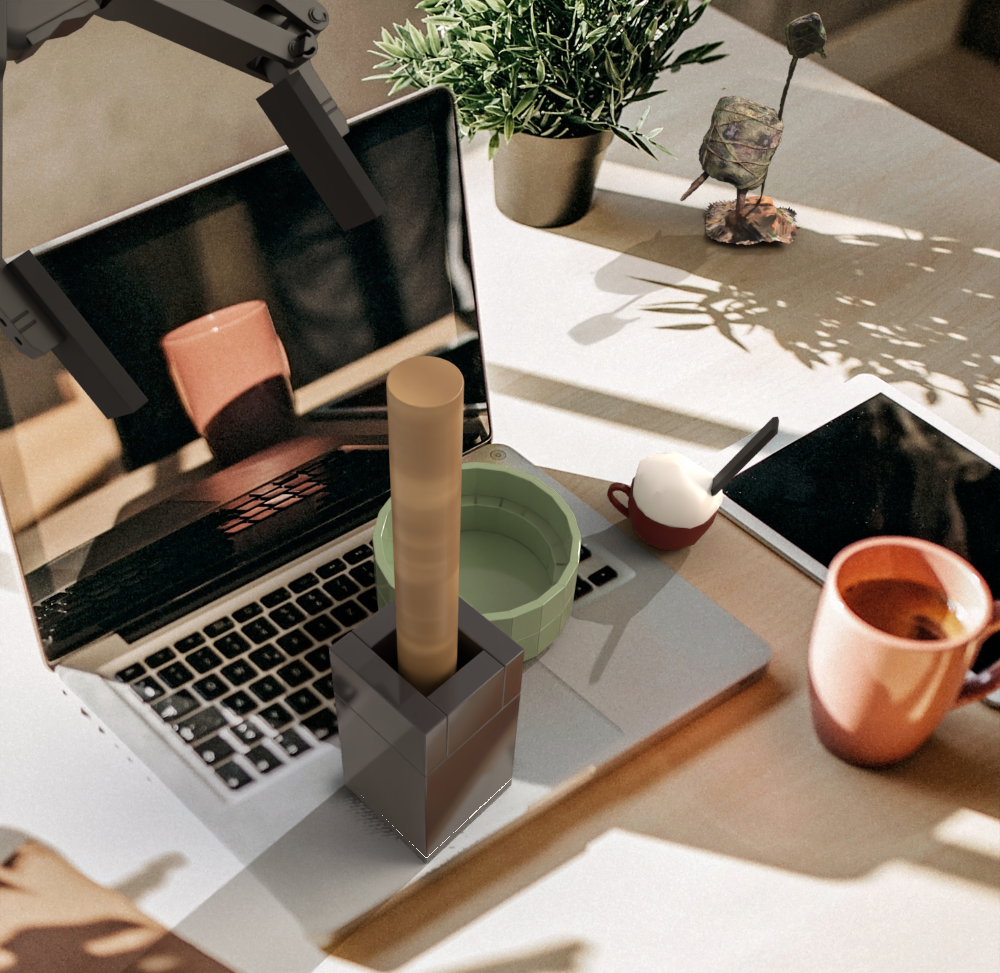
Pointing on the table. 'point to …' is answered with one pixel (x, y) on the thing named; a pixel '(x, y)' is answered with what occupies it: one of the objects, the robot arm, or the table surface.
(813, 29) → the bird figurine
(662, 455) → the cocoa
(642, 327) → the table surface
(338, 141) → the robot arm
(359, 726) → the box
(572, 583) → the bowl
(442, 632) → the stirring stick
